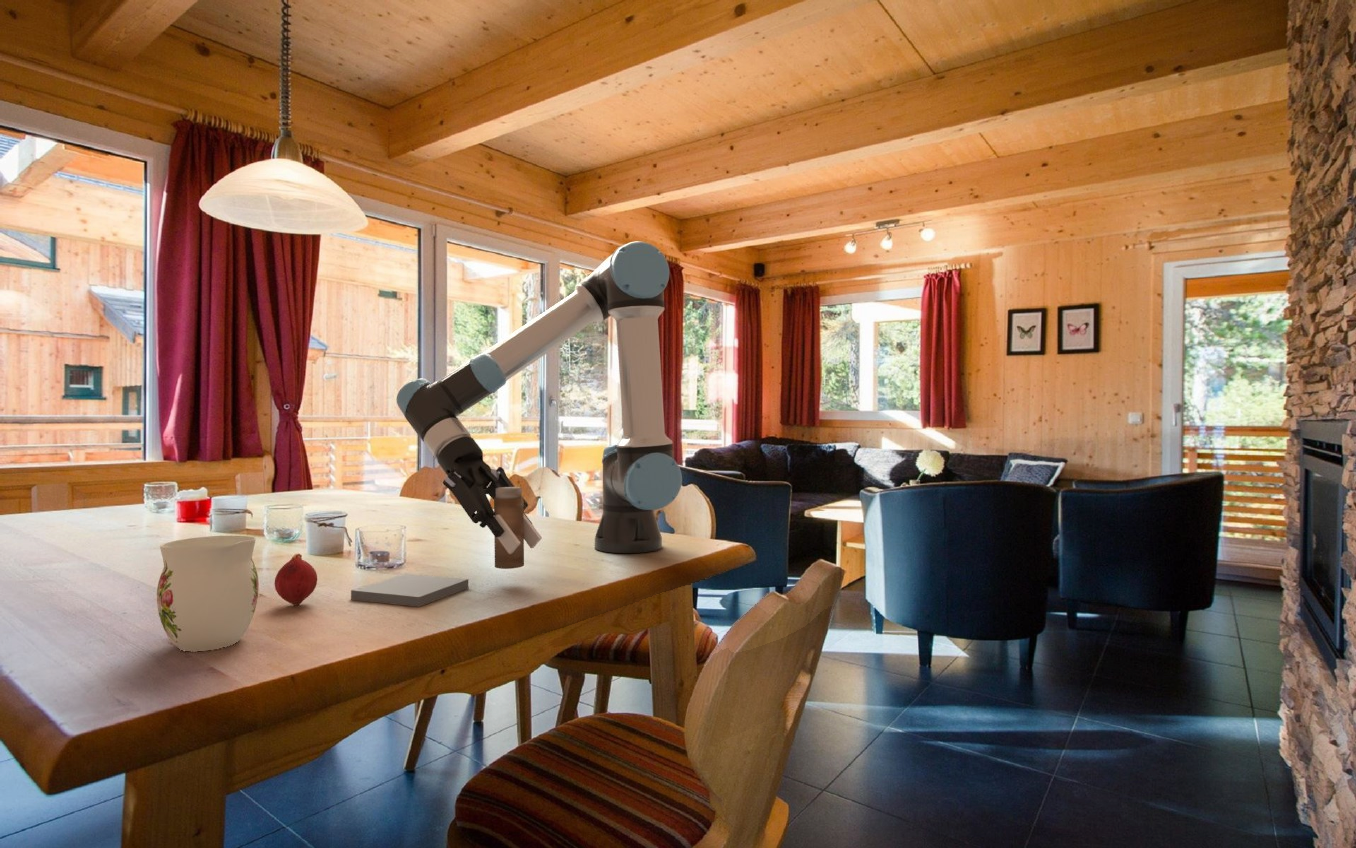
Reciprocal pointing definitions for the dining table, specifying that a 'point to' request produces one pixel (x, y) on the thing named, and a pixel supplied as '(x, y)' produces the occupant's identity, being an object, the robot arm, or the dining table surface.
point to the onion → (295, 580)
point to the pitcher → (207, 591)
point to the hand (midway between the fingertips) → (525, 545)
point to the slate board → (410, 589)
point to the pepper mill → (510, 526)
